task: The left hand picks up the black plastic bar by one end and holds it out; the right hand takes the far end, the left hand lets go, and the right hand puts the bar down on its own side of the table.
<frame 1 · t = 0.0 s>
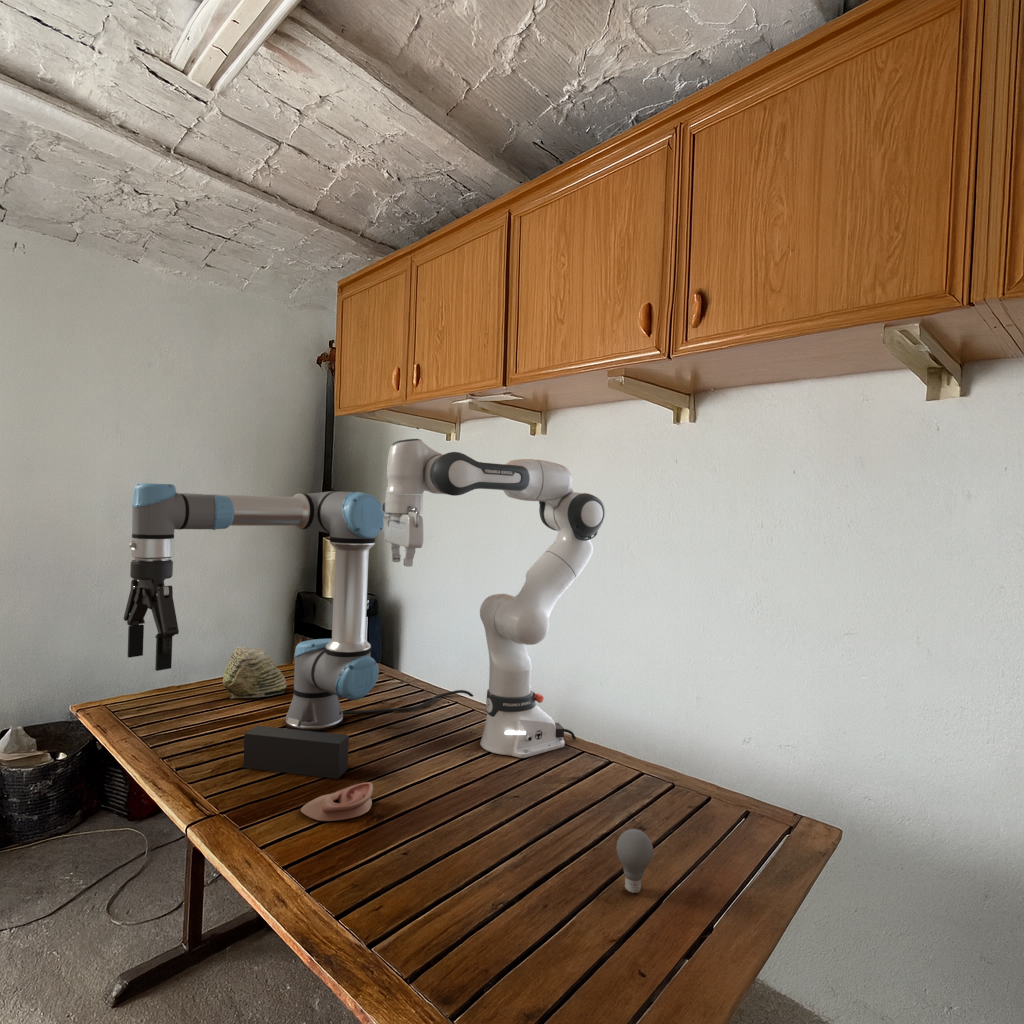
left hand: (148, 662, 129), 28 cm above the table, tool pointing down, fingers open, 13 cm apart
right hand: (401, 564, 152), 48 cm above the table, tool pointing down, fingers open, 8 cm apart
anatomical model: (337, 809, 129), on the table
light bulb: (632, 891, 106), on the table
fossil: (254, 694, 198), on the table
bar: (295, 768, 147), on the table
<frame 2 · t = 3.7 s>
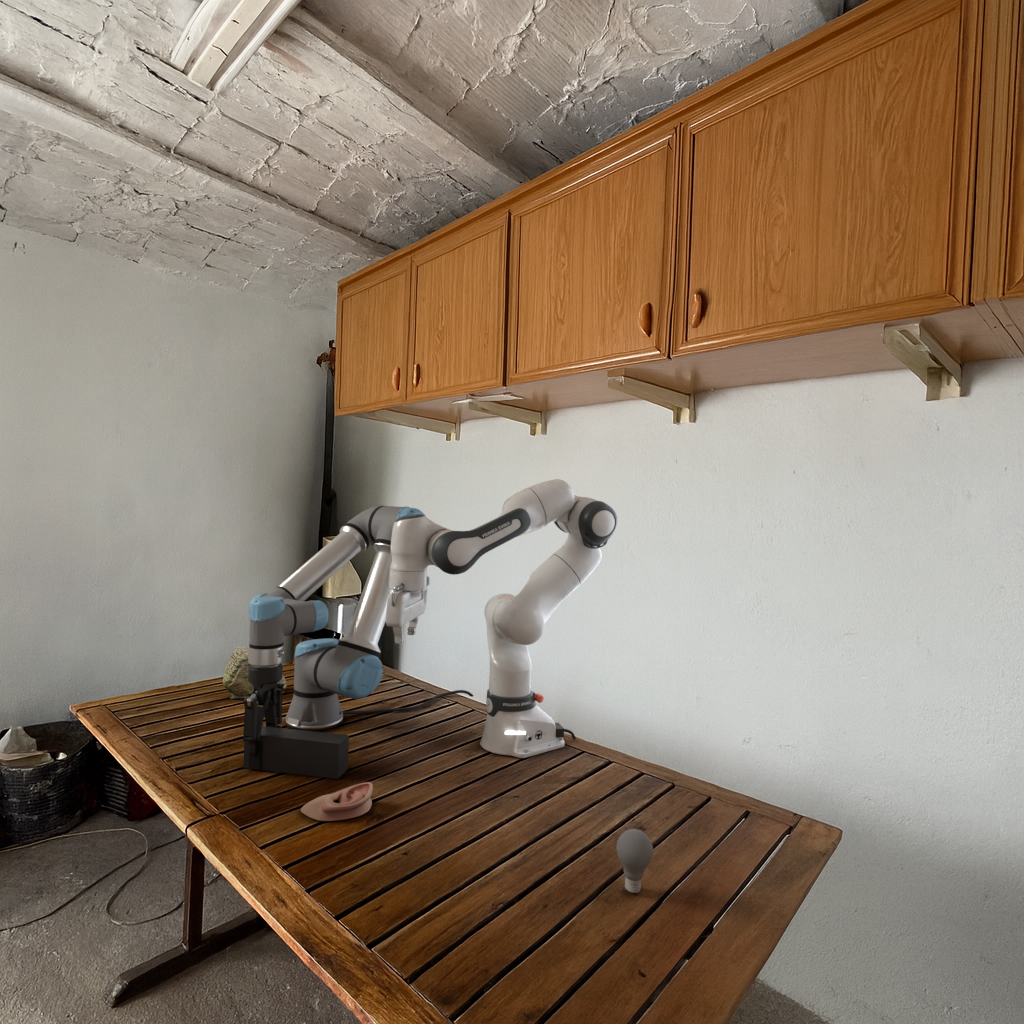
left hand: (262, 762, 148), 1 cm above the table, tool pointing down, fingers closed on bar, 5 cm apart
right hand: (405, 638, 153), 30 cm above the table, tool pointing down, fingers open, 8 cm apart
bar: (295, 768, 147), on the table, touching left hand
everything else where it was.
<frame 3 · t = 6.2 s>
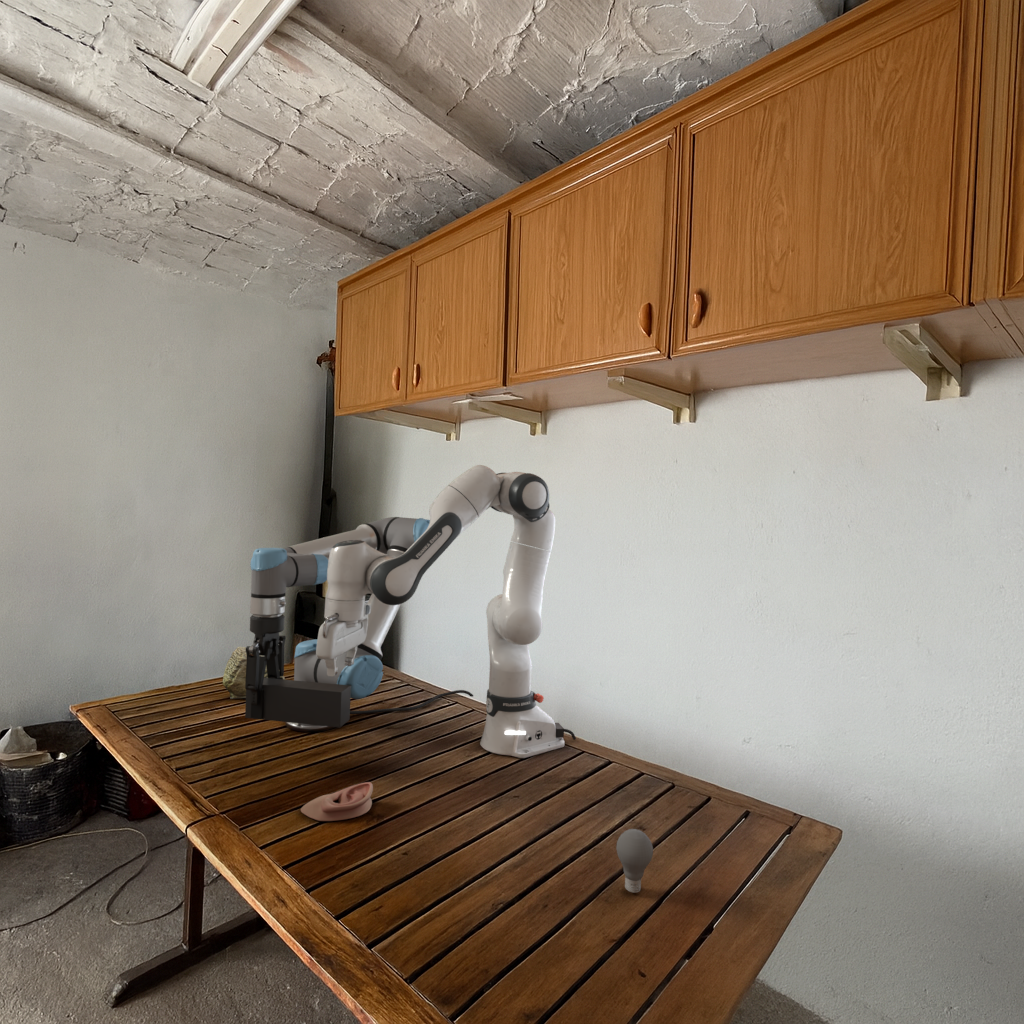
left hand: (264, 713, 148), 12 cm above the table, tool pointing down, fingers closed on bar, 5 cm apart
right hand: (340, 670, 146), 24 cm above the table, tool pointing down, fingers open, 8 cm apart
bar: (297, 718, 147), point 12 cm above the table, touching left hand
everything else where it was.
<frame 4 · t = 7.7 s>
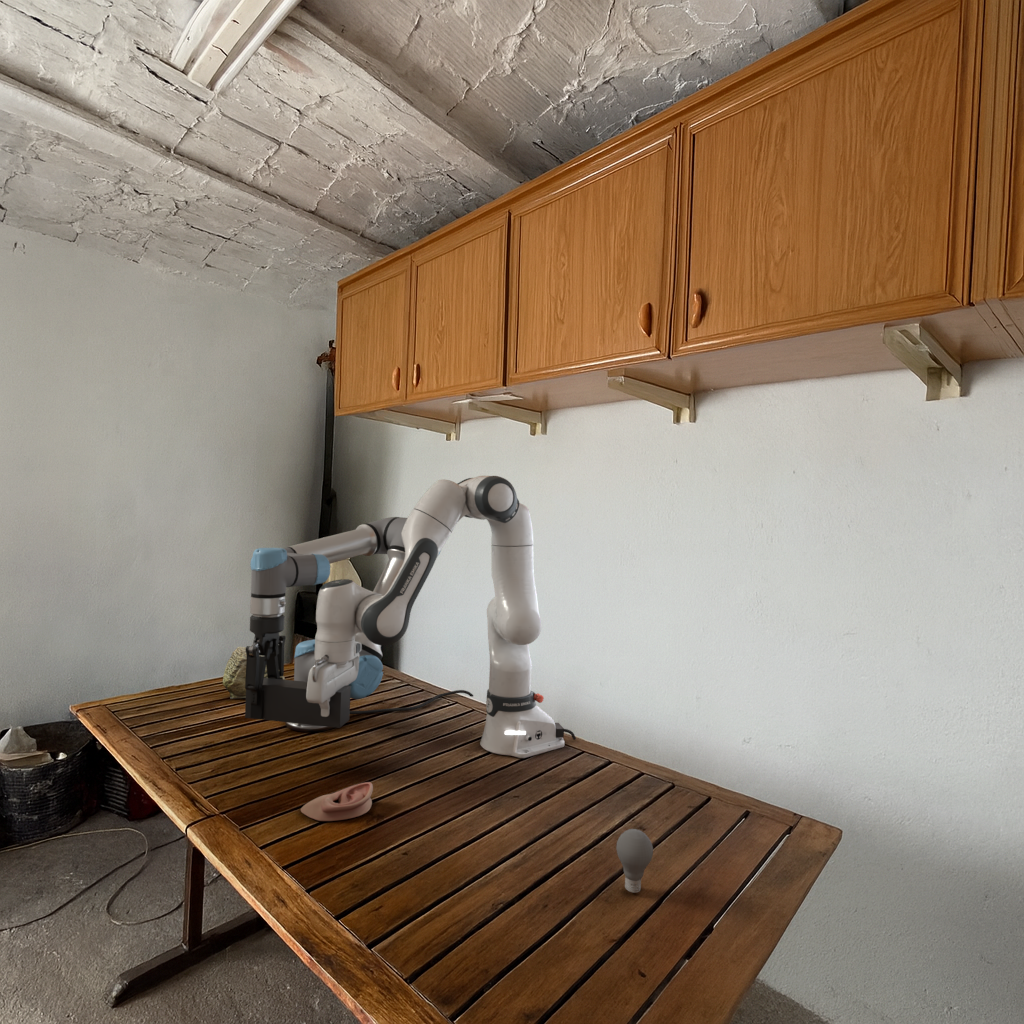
left hand: (263, 713, 148), 12 cm above the table, tool pointing down, fingers closed on bar, 5 cm apart
right hand: (332, 710, 145), 14 cm above the table, tool pointing down, fingers closed on bar, 5 cm apart
bar: (297, 718, 147), point 12 cm above the table, touching left hand, right hand
everything else where it was.
when the left hand's fingers open (12 cm above the table, at t = 8.7 s): bar stays where it is, held by the right hand.
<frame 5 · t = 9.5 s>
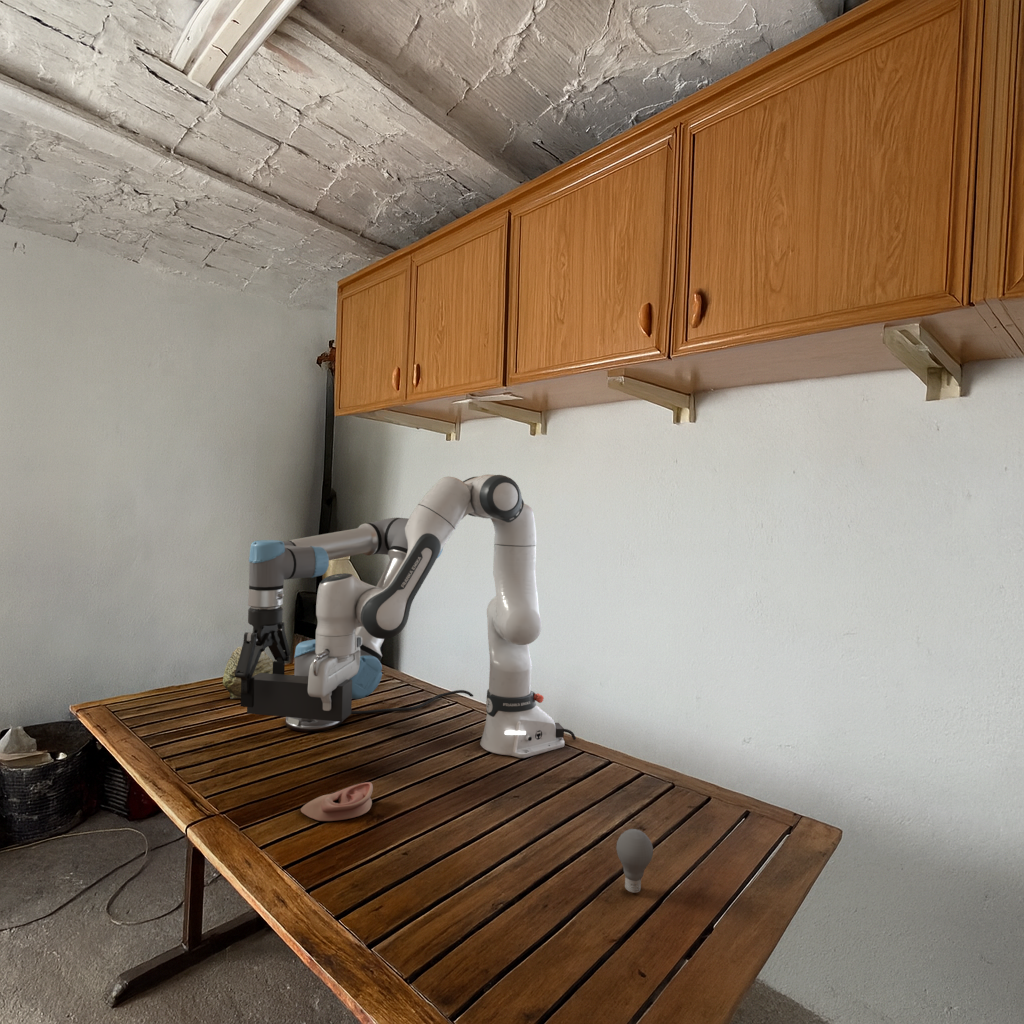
left hand: (263, 697, 148), 16 cm above the table, tool pointing down, fingers open, 13 cm apart
right hand: (334, 704, 145), 16 cm above the table, tool pointing down, fingers closed on bar, 5 cm apart
bar: (299, 713, 147), point 13 cm above the table, touching right hand
everything else where it was.
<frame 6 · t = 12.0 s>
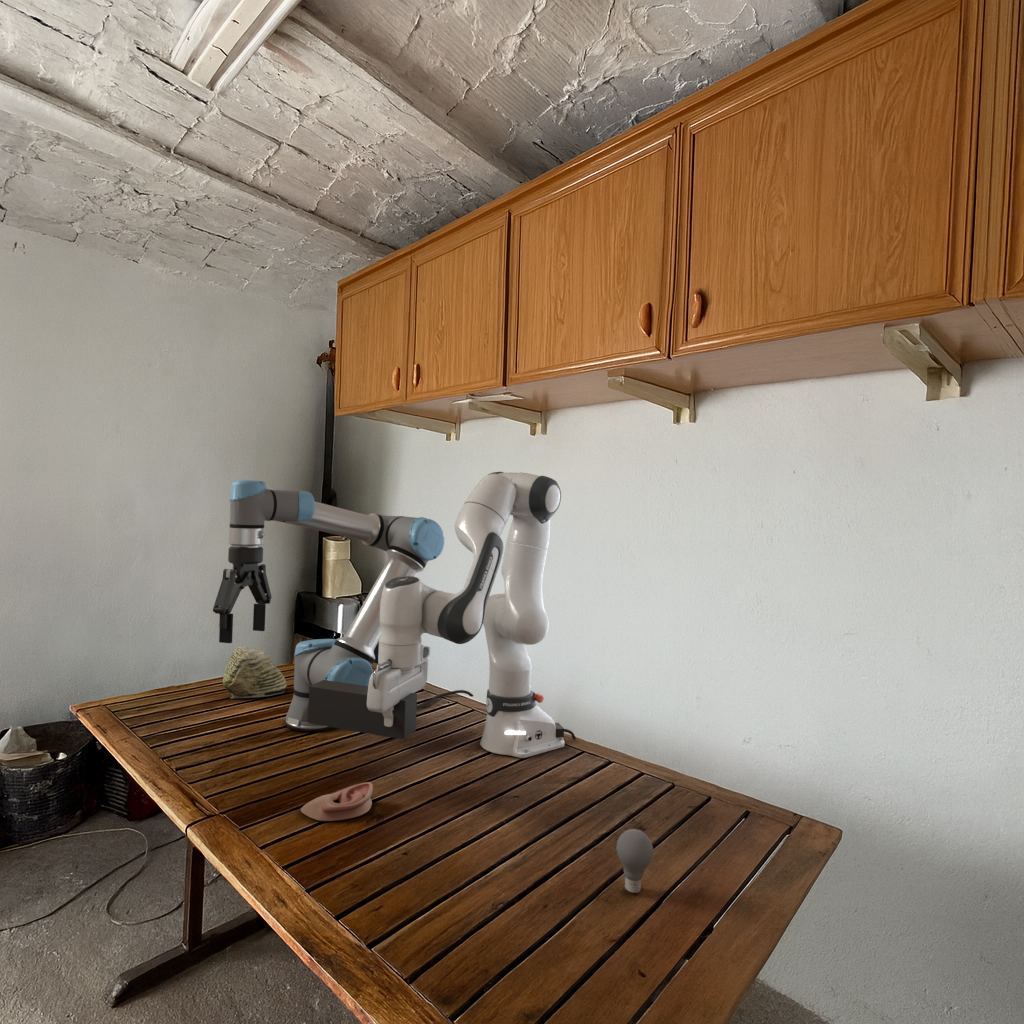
left hand: (242, 636, 148), 30 cm above the table, tool pointing down, fingers open, 13 cm apart
right hand: (397, 720, 133), 17 cm above the table, tool pointing down, fingers closed on bar, 5 cm apart
bar: (361, 727, 136), point 14 cm above the table, touching right hand
everything else where it was.
when the right hand's fingers open (4 cm above the table, at t = 16.5 s): bar stays where it is, on the table.
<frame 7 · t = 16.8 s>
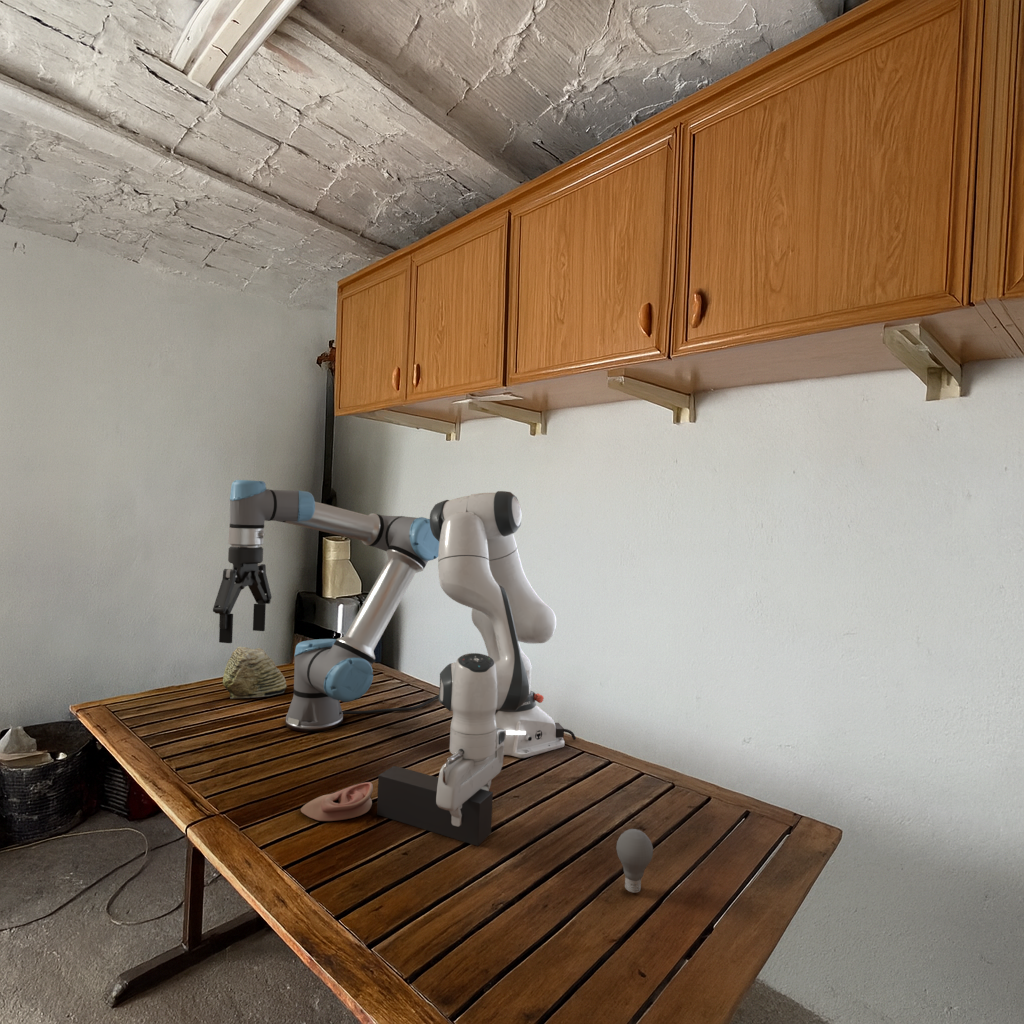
left hand: (242, 636, 148), 30 cm above the table, tool pointing down, fingers open, 13 cm apart
right hand: (469, 813, 121), 4 cm above the table, tool pointing down, fingers open, 8 cm apart
bar: (432, 823, 125), on the table
everything else where it was.
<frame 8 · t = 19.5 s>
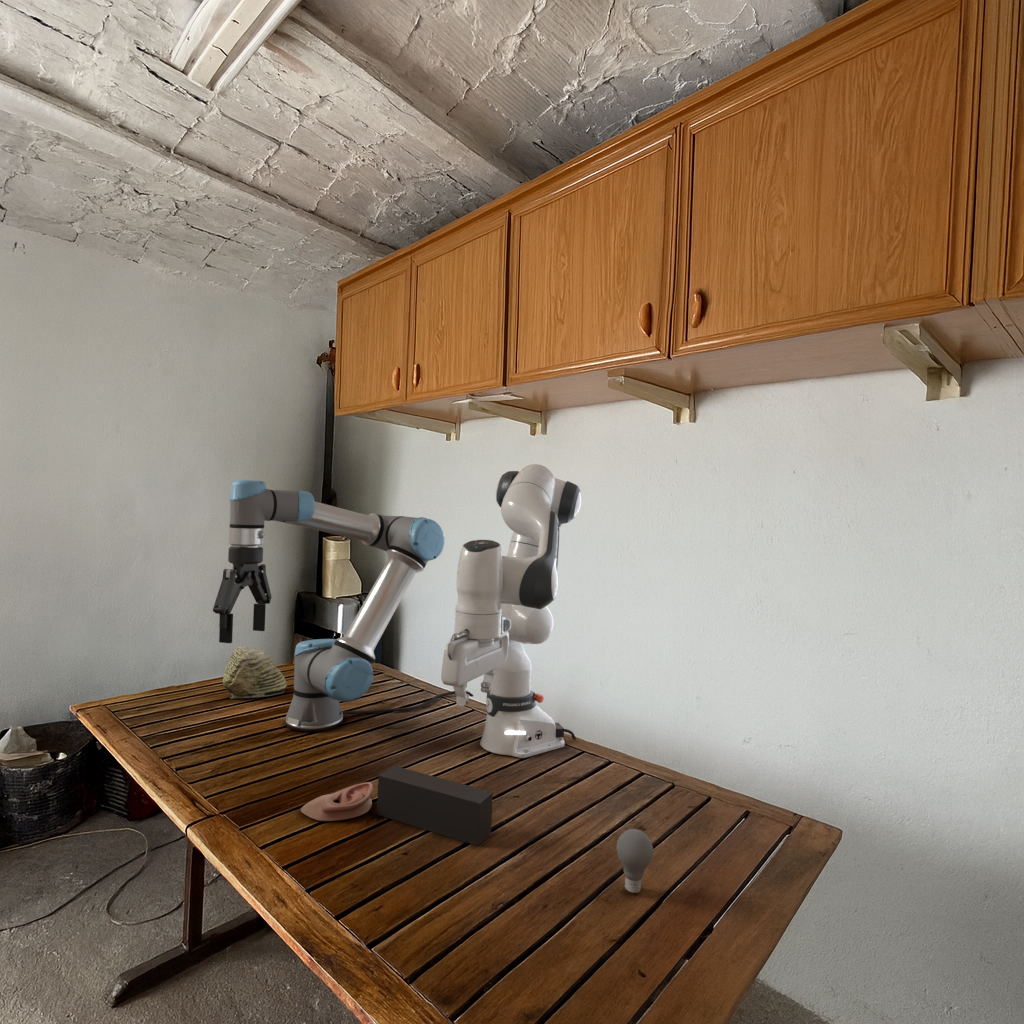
left hand: (242, 636, 148), 30 cm above the table, tool pointing down, fingers open, 13 cm apart
right hand: (474, 698, 121), 26 cm above the table, tool pointing down, fingers open, 8 cm apart
nothing on the table moved.
at the end: bar inside the target area (8.2 cm from its centre), on the table; the left hand is holding nothing; the right hand is holding nothing; bar at rest at the end (0.0 cm/s) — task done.
